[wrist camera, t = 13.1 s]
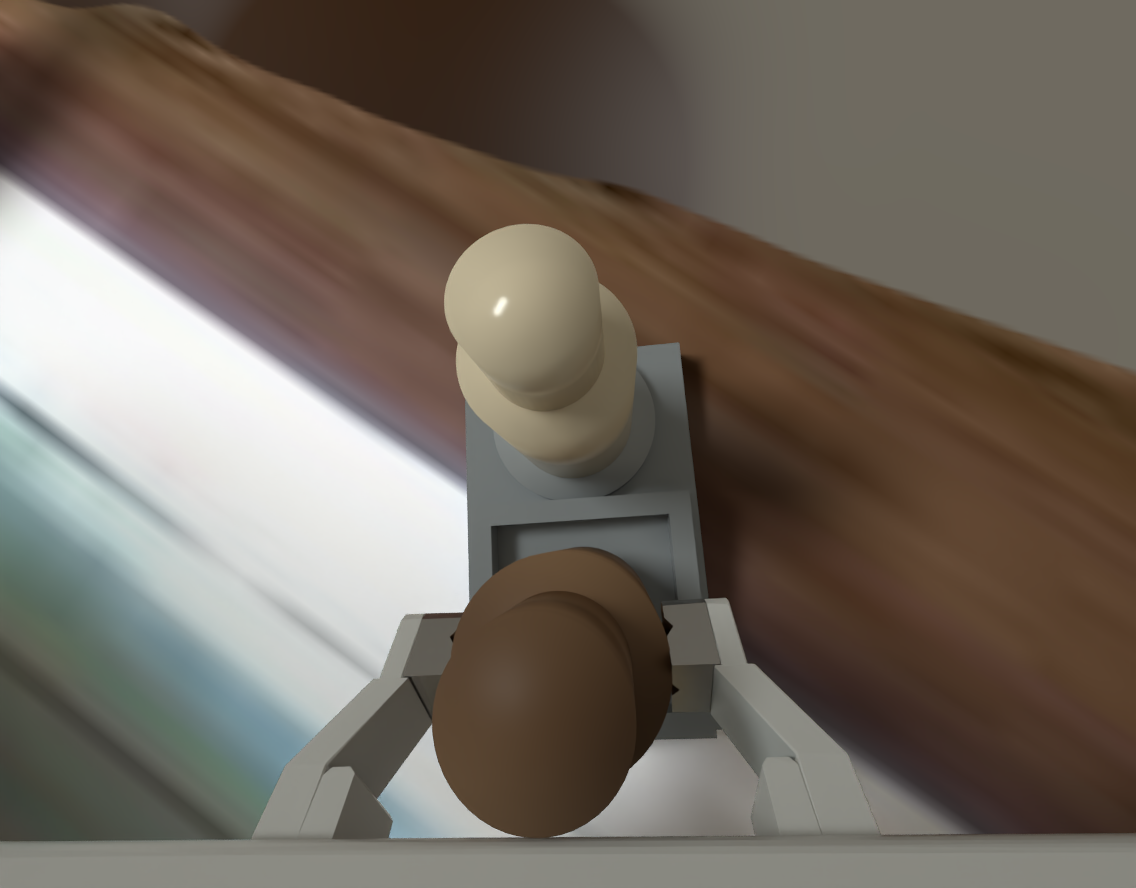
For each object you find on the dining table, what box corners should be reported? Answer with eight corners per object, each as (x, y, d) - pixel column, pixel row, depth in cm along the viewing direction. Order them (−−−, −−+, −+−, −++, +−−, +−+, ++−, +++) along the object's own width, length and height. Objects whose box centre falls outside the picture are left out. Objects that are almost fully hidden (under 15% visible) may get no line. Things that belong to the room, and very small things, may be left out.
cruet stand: (716, 716, 18) (883, 1030, 7) (481, 723, 19) (263, 1012, 7) (675, 349, 21) (739, 118, 9) (472, 369, 22) (305, 180, 10)
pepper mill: (624, 709, 16) (627, 974, 6) (499, 652, 17) (329, 809, 7) (670, 576, 17) (738, 628, 7) (547, 527, 17) (453, 513, 8)
